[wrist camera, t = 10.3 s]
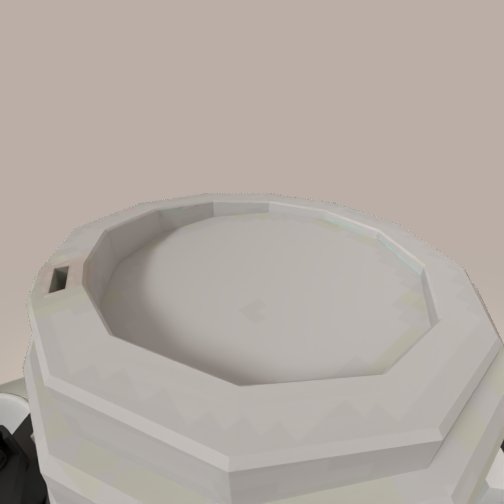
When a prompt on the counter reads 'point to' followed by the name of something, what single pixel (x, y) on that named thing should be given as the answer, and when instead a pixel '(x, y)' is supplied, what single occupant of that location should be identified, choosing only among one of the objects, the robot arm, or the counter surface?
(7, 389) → the counter surface
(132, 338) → the disposable coffee cup
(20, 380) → the counter surface
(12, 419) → the teacup
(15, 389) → the counter surface
